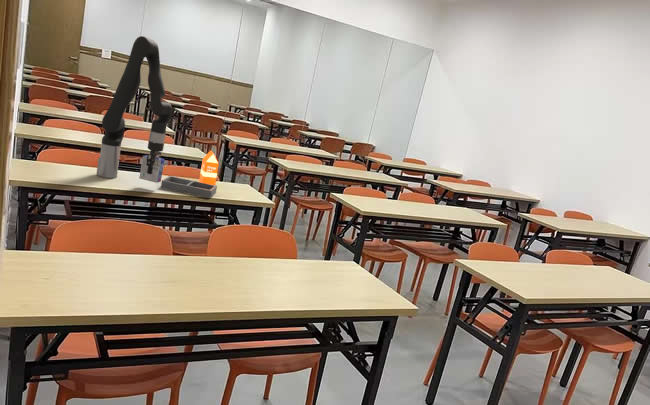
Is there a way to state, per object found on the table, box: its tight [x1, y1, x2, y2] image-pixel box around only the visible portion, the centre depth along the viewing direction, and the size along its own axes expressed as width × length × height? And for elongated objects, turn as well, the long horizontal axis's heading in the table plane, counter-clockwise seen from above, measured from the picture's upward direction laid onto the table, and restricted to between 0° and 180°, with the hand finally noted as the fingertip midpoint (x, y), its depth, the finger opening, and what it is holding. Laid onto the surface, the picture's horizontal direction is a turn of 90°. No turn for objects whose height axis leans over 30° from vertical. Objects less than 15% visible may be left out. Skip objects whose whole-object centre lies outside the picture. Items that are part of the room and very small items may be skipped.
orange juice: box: [198, 150, 219, 185], centre depth 283 cm, size 8×9×20 cm
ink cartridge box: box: [138, 153, 165, 184], centre depth 250 cm, size 10×6×14 cm, turn 88°
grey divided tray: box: [160, 175, 218, 199], centre depth 265 cm, size 27×14×4 cm, turn 91°
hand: (151, 172), depth 251 cm, fingers closed on ink cartridge box, 5 cm apart
